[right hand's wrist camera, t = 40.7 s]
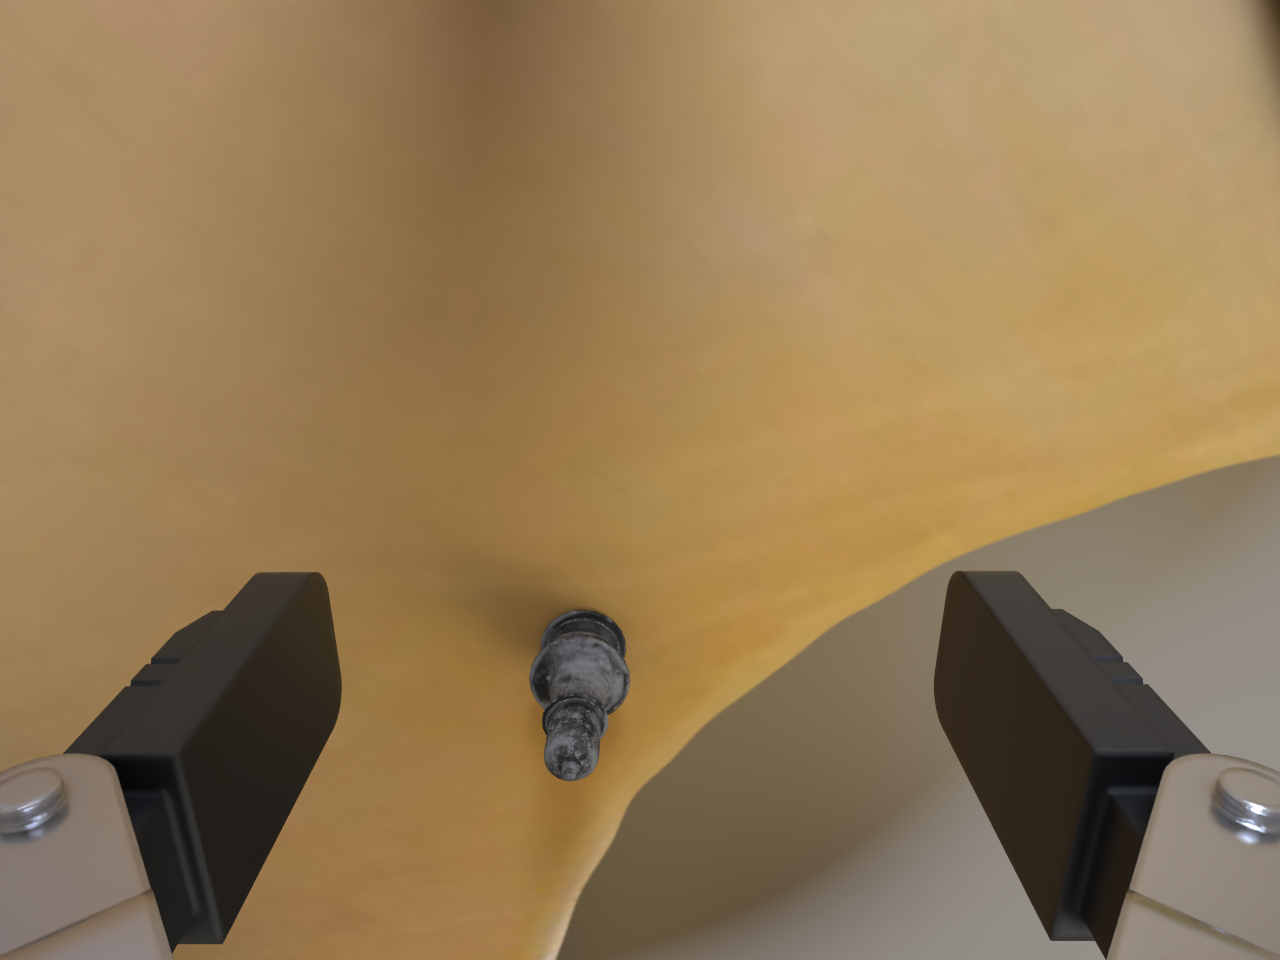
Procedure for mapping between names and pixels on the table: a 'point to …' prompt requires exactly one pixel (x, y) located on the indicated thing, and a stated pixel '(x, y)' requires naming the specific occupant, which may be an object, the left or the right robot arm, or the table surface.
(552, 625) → the grey tall turned piece
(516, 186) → the table surface
